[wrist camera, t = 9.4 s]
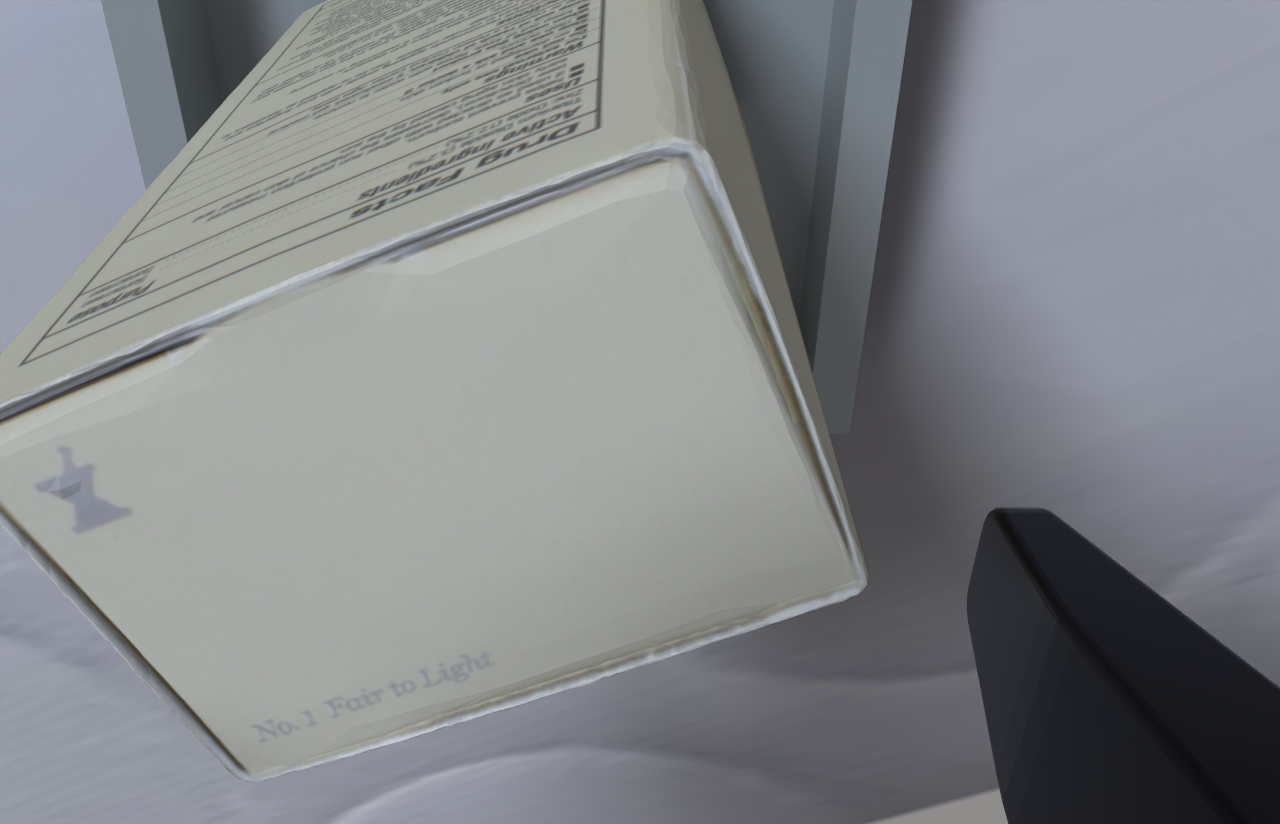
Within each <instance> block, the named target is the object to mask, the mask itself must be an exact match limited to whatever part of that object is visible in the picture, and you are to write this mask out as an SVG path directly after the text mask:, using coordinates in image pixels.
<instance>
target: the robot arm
mask: <svg viewBox="0 0 1280 824" xmlns="http://www.w3.org/2000/svg"><path fill="white" fill-rule="evenodd" d="M967 615H968V623H969V628H970V634H971V639H972V645H973V650H974V655H975V661H976V666H977V672H978V677H979V682H980V688H981V693H982V698H983V704H984V709H985V715H986V720H987V725H988V731H989V736H990V742H991V747H992V752H993V758H994V763H995V768H996V774H997V778H998V783H999V788H1000V793H1001V798H1002V802H1003V806H1004V809H1005V813H1006V817H1007V820H1008V824H1280V688H1279V687H1278V686H1277V685H1276V684H1274V683H1273V682H1272V681H1270V680H1269V679H1268V678H1267V677H1265V676H1264V675H1263V674H1261V673H1260V672H1259V671H1257V670H1256V669H1255V668H1254V667H1252V666H1251V665H1250V664H1248V663H1247V662H1246V661H1244V660H1243V659H1242V658H1241V657H1239V656H1238V655H1237V654H1235V653H1234V652H1233V651H1231V650H1230V649H1229V648H1228V647H1226V646H1225V645H1224V644H1222V643H1221V642H1220V641H1218V640H1217V639H1216V638H1215V637H1213V636H1212V635H1211V634H1209V633H1208V632H1207V631H1205V630H1204V629H1203V628H1202V627H1200V626H1199V625H1198V624H1196V623H1195V622H1194V621H1193V620H1191V619H1190V618H1189V617H1187V616H1186V615H1185V614H1183V613H1182V612H1181V611H1180V610H1178V609H1177V608H1176V607H1174V606H1173V605H1172V604H1170V603H1169V602H1168V601H1167V600H1165V599H1164V598H1163V597H1161V596H1160V595H1159V594H1157V593H1156V592H1155V591H1154V590H1152V589H1151V588H1150V587H1148V586H1147V585H1146V584H1144V583H1143V582H1142V581H1141V580H1139V579H1138V578H1137V577H1135V576H1134V575H1133V574H1131V573H1130V572H1129V571H1128V570H1126V569H1125V568H1124V567H1122V566H1121V565H1120V564H1118V563H1117V562H1116V561H1115V560H1113V559H1112V558H1111V557H1109V556H1108V555H1107V554H1106V553H1104V552H1103V551H1102V550H1100V549H1099V548H1098V547H1096V546H1095V545H1094V544H1093V543H1091V542H1090V541H1089V540H1087V539H1086V538H1085V537H1083V536H1082V535H1081V534H1080V533H1078V532H1077V531H1076V530H1074V529H1073V528H1072V527H1070V526H1069V525H1068V524H1067V523H1065V522H1064V521H1063V520H1061V519H1060V518H1059V517H1057V516H1056V515H1055V514H1053V513H1052V512H1050V511H1048V510H1046V509H1043V508H996V509H994V510H993V511H991V512H990V513H989V514H988V516H987V518H986V519H985V521H984V525H983V528H982V532H981V537H980V541H979V545H978V549H977V554H976V558H975V562H974V566H973V571H972V575H971V579H970V583H969V588H968V595H967Z"/></svg>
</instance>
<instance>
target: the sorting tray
mask: <svg viewBox="0 0 1280 824" xmlns="http://www.w3.org/2000/svg"><path fill="white" fill-rule="evenodd" d="M325 1H327V0H101V2H102V6H103V10H104V14H105V19H106V23H107V27H108V31H109V35H110V40H111V44H112V48H113V52H114V56H115V61H116V65H117V69H118V73H119V77H120V82H121V86H122V90H123V94H124V99H125V103H126V107H127V111H128V115H129V120H130V124H131V128H132V132H133V136H134V141H135V145H136V149H137V153H138V157H139V162H140V166H141V170H142V174H143V178H144V183H145V187H146V190H147V188H148V187H149V186H150V185H151V184H152V183H153V182H154V180H155V179H156V178H157V177H158V176H159V175H160V174H161V173H162V171H163V170H164V169H165V168H166V167H167V166H168V165H169V164H170V163H171V162H172V161H173V160H174V159H175V158H176V157H177V155H178V154H179V153H180V152H181V150H182V149H183V148H184V147H185V146H186V145H187V143H188V142H189V141H190V140H191V139H192V138H193V136H194V135H195V134H196V133H197V132H198V131H199V129H200V128H201V127H202V126H203V125H204V124H205V123H206V122H207V120H208V119H209V118H210V117H211V116H212V114H213V113H214V112H215V111H216V110H217V109H218V108H219V107H220V106H221V105H222V103H223V102H224V101H225V100H226V99H227V97H228V96H229V95H230V94H231V93H232V92H233V91H234V90H235V89H236V88H237V87H238V86H239V85H240V83H241V82H242V81H243V80H244V79H245V78H246V76H247V75H248V74H249V73H250V72H251V71H252V70H253V69H254V68H255V67H256V65H257V64H258V63H259V62H260V60H261V59H262V58H263V57H264V56H265V55H266V54H267V53H268V52H269V51H270V50H271V48H272V47H273V46H274V45H275V44H276V42H277V41H278V40H279V39H280V38H281V37H282V36H283V34H284V33H285V32H286V31H287V30H288V29H289V28H290V27H291V25H292V24H293V23H294V22H295V21H296V19H297V18H298V17H299V16H300V15H301V14H303V13H304V12H305V11H306V10H308V9H310V8H312V7H314V6H316V5H319V4H321V3H323V2H325ZM703 2H704V5H705V7H706V10H707V13H708V16H709V19H710V21H711V24H712V27H713V30H714V33H715V36H716V38H717V41H718V44H719V47H720V50H721V53H722V56H723V59H724V62H725V65H726V68H727V71H728V74H729V77H730V80H731V83H732V86H733V89H734V92H735V95H736V98H737V100H738V103H739V106H740V110H741V113H742V117H743V121H744V124H745V128H746V132H747V136H748V139H749V143H750V147H751V151H752V155H753V159H754V162H755V166H756V170H757V174H758V178H759V181H760V185H761V189H762V192H763V196H764V200H765V204H766V207H767V211H768V215H769V219H770V222H771V226H772V230H773V233H774V237H775V241H776V244H777V248H778V252H779V255H780V259H781V262H782V266H783V269H784V273H785V276H786V280H787V284H788V287H789V291H790V294H791V298H792V302H793V305H794V309H795V312H796V316H797V320H798V323H799V327H800V330H801V334H802V337H803V341H804V344H805V348H806V351H807V355H808V359H809V362H810V366H811V369H812V373H813V377H814V381H815V385H816V389H817V392H818V396H819V400H820V404H821V408H822V411H823V415H824V418H825V422H826V425H827V429H828V432H829V434H850V432H851V425H852V418H853V411H854V404H855V397H856V390H857V383H858V376H859V369H860V362H861V355H862V348H863V341H864V334H865V327H866V321H867V314H868V307H869V300H870V293H871V286H872V279H873V272H874V265H875V258H876V251H877V244H878V237H879V230H880V223H881V216H882V209H883V202H884V195H885V188H886V181H887V174H888V167H889V160H890V153H891V146H892V139H893V132H894V125H895V118H896V111H897V104H898V97H899V90H900V84H901V77H902V70H903V63H904V56H905V49H906V42H907V35H908V28H909V21H910V14H911V7H912V0H703Z"/></svg>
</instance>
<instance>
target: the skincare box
mask: <svg viewBox="0 0 1280 824" xmlns="http://www.w3.org/2000/svg"><path fill="white" fill-rule="evenodd" d="M0 525H1V526H2V527H3V528H4V529H5V530H6V531H7V532H8V534H9V535H10V536H11V537H12V538H13V539H14V541H15V542H16V543H17V544H18V545H19V546H20V547H21V548H22V549H23V550H25V551H26V552H27V553H28V555H29V556H30V557H31V559H32V560H33V561H34V562H35V564H36V565H37V566H38V568H39V569H40V570H41V571H42V572H44V573H45V574H46V575H47V576H48V577H49V578H50V579H51V580H52V581H53V583H54V584H55V585H56V587H57V588H58V589H59V590H60V592H61V593H62V594H63V595H64V596H65V597H66V598H67V599H68V600H69V601H70V602H71V603H72V604H73V605H74V606H75V607H76V608H77V609H78V610H79V611H80V612H81V614H82V615H83V616H84V617H85V618H86V619H87V620H88V621H89V622H90V623H91V624H92V626H93V627H94V628H95V629H96V630H97V631H98V632H99V633H100V634H101V636H102V637H103V638H104V639H105V640H106V641H107V642H108V643H109V644H111V645H112V647H113V648H114V649H115V650H116V652H117V653H118V654H119V655H120V656H121V657H122V658H123V659H124V660H125V661H126V662H127V664H128V665H129V666H130V668H131V669H132V670H133V671H134V673H135V674H136V675H137V676H138V677H139V678H140V679H141V680H142V681H143V682H144V683H145V684H146V685H147V686H148V687H149V688H150V689H151V690H152V691H153V692H154V693H155V694H156V696H158V697H159V698H160V699H161V700H162V701H163V702H165V704H166V705H167V706H168V707H169V708H170V709H171V710H172V711H173V712H174V713H175V714H176V715H177V716H178V718H179V719H180V720H181V721H182V722H183V723H184V724H185V725H186V726H187V727H188V728H189V729H190V730H191V731H192V732H193V734H194V735H195V736H196V737H197V738H198V739H199V740H200V741H201V742H202V743H203V744H204V745H205V746H206V747H207V748H208V749H209V750H210V751H211V752H212V753H213V754H214V755H215V756H216V757H217V758H218V759H219V761H220V762H221V763H222V764H223V765H224V766H225V767H226V769H227V770H228V771H229V772H231V773H232V774H233V775H234V776H236V777H237V778H238V779H241V780H243V781H245V782H257V781H262V780H267V779H272V778H275V777H278V776H281V775H284V774H288V773H291V772H294V771H297V770H302V769H307V768H311V767H315V766H318V765H321V764H324V763H328V762H331V761H335V760H339V759H343V758H346V757H350V756H354V755H358V754H362V753H365V752H368V751H370V750H374V749H378V748H381V747H384V746H387V745H389V744H392V743H396V742H399V741H403V740H406V739H410V738H413V737H417V736H420V735H424V734H428V733H431V732H434V731H436V730H439V729H441V728H444V727H449V726H452V725H455V724H457V723H463V722H467V721H470V720H473V719H476V718H479V717H482V716H485V715H488V714H491V713H495V712H498V711H502V710H505V709H509V708H512V707H516V706H519V705H523V704H526V703H529V702H531V701H534V700H536V699H538V698H542V697H545V696H548V695H551V694H554V693H557V692H560V691H563V690H567V689H571V688H575V687H579V686H583V685H587V684H591V683H594V682H596V681H597V680H599V679H601V678H603V677H608V676H614V675H616V674H618V673H620V672H625V671H628V670H631V669H634V668H637V667H641V666H644V665H647V664H650V663H654V662H657V661H661V660H664V659H667V658H670V657H673V656H676V655H679V654H683V653H686V652H689V651H692V650H694V649H697V648H700V647H702V646H705V645H707V644H711V643H714V642H717V641H720V640H724V639H727V638H730V637H734V636H737V635H740V634H743V633H747V632H750V631H753V630H756V629H758V628H761V627H764V626H767V625H771V624H774V623H778V622H781V621H784V620H788V619H790V618H793V617H796V616H798V615H801V614H804V613H807V612H810V611H814V610H817V609H820V608H823V607H825V606H828V605H831V604H834V603H838V602H842V601H845V600H847V599H850V598H852V597H854V596H856V595H858V594H860V593H862V591H863V590H864V589H865V588H866V586H867V581H868V572H867V568H866V564H865V560H864V556H863V552H862V549H861V545H860V542H859V539H858V535H857V532H856V528H855V525H854V522H853V518H852V515H851V511H850V508H849V504H848V500H847V497H846V493H845V489H844V486H843V482H842V478H841V475H840V471H839V468H838V464H837V460H836V457H835V453H834V450H833V446H832V443H831V439H830V436H829V432H828V429H827V425H826V422H825V418H824V415H823V411H822V408H821V404H820V400H819V396H818V392H817V389H816V385H815V381H814V377H813V373H812V369H811V366H810V362H809V359H808V355H807V351H806V348H805V344H804V341H803V337H802V334H801V330H800V327H799V323H798V320H797V316H796V312H795V309H794V305H793V302H792V298H791V294H790V291H789V287H788V284H787V280H786V276H785V273H784V269H783V266H782V262H781V259H780V255H779V252H778V248H777V244H776V241H775V237H774V233H773V230H772V226H771V222H770V219H769V215H768V211H767V207H766V204H765V200H764V196H763V192H762V189H761V185H760V181H759V178H758V174H757V170H756V166H755V162H754V159H753V155H752V151H751V147H750V143H749V139H748V136H747V132H746V128H745V124H744V121H743V117H742V113H741V110H740V106H739V103H738V100H737V98H736V95H735V92H734V89H733V86H732V83H731V80H730V77H729V74H728V71H727V68H726V65H725V62H724V59H723V56H722V53H721V50H720V47H719V44H718V41H717V38H716V36H715V33H714V30H713V27H712V24H711V21H710V19H709V16H708V13H707V10H706V7H705V5H704V2H703V0H327V1H325V2H323V3H321V4H319V5H316V6H314V7H312V8H310V9H308V10H306V11H305V12H304V13H303V14H301V15H300V16H299V17H298V18H297V19H296V21H295V22H294V23H293V24H292V25H291V27H290V28H289V29H288V30H287V31H286V32H285V33H284V34H283V36H282V37H281V38H280V39H279V40H278V41H277V42H276V44H275V45H274V46H273V47H272V48H271V50H270V51H269V52H268V53H267V54H266V55H265V56H264V57H263V58H262V59H261V60H260V62H259V63H258V64H257V65H256V67H255V68H254V69H253V70H252V71H251V72H250V73H249V74H248V75H247V76H246V78H245V79H244V80H243V81H242V82H241V83H240V85H239V86H238V87H237V88H236V89H235V90H234V91H233V92H232V93H231V94H230V95H229V96H228V97H227V99H226V100H225V101H224V102H223V103H222V105H221V106H220V107H219V108H218V109H217V110H216V111H215V112H214V113H213V114H212V116H211V117H210V118H209V119H208V120H207V122H206V123H205V124H204V125H203V126H202V127H201V128H200V129H199V131H198V132H197V133H196V134H195V135H194V136H193V138H192V139H191V140H190V141H189V142H188V143H187V145H186V146H185V147H184V148H183V149H182V150H181V152H180V153H179V154H178V155H177V157H176V158H175V159H174V160H173V161H172V162H171V163H170V164H169V165H168V166H167V167H166V168H165V169H164V170H163V171H162V173H161V174H160V175H159V176H158V177H157V178H156V179H155V180H154V182H153V183H152V184H151V185H150V186H149V187H148V188H147V190H146V191H145V192H144V193H143V194H142V195H141V197H140V198H139V199H138V200H137V201H136V202H135V203H134V205H133V206H132V207H131V208H130V209H129V210H128V211H127V212H126V213H125V214H124V216H123V217H122V218H121V219H120V220H119V221H118V222H117V223H116V224H115V226H114V227H113V228H112V229H111V230H110V232H109V233H108V234H107V235H106V236H105V238H104V239H103V240H102V241H101V242H100V243H99V244H98V246H97V247H96V248H95V249H94V250H93V251H92V252H91V253H90V254H89V255H88V256H87V258H86V259H85V260H84V261H83V262H82V263H81V265H80V266H79V267H78V268H77V270H76V271H75V272H74V274H73V275H72V276H71V277H70V278H69V279H68V280H67V281H66V282H65V283H64V285H63V286H62V287H61V288H60V289H59V290H58V291H57V292H56V293H55V295H54V296H53V297H52V298H51V299H50V300H49V301H48V302H47V304H46V305H45V306H44V307H43V308H42V309H41V310H40V311H39V313H38V314H37V315H36V316H35V317H34V318H33V319H32V320H31V321H30V322H29V324H28V325H27V326H26V327H25V328H24V329H23V330H22V331H21V332H20V333H19V334H18V336H17V337H16V338H15V339H14V340H13V341H12V342H11V343H10V344H9V345H8V346H7V348H6V349H5V350H4V351H3V352H2V354H1V355H0Z"/></svg>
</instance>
